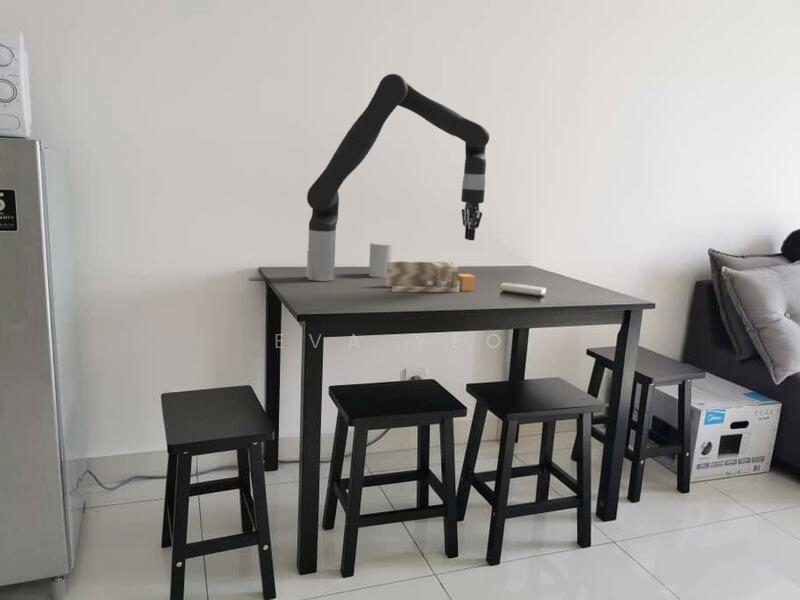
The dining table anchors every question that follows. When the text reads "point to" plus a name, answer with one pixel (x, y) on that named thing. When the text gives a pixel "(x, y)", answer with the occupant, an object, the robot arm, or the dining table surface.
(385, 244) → the cup
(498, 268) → the dining table surface
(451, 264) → the bridge channel
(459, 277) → the block
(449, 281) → the grey long rectangular bar
